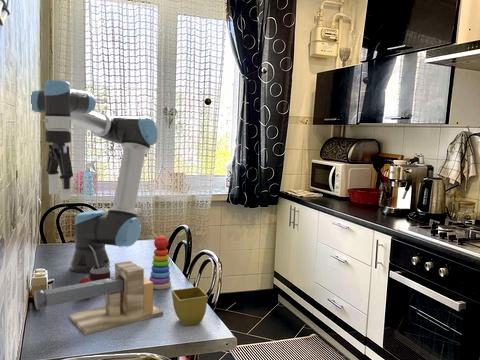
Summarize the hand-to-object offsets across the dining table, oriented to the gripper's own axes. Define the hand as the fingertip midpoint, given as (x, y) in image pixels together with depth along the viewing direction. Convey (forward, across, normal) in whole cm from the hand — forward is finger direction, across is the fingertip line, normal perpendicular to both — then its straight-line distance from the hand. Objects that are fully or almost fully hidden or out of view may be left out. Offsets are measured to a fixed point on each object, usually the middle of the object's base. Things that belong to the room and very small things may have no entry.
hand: (59, 196), depth 144 cm
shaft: (+27, +22, +1) cm, 35 cm away
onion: (+35, +3, +7) cm, 36 cm away
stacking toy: (+35, +6, +33) cm, 48 cm away
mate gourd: (+35, -4, +14) cm, 38 cm away
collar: (+29, +22, +18) cm, 41 cm away
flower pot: (+35, +38, +26) cm, 58 cm away
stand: (+35, +22, +10) cm, 42 cm away
